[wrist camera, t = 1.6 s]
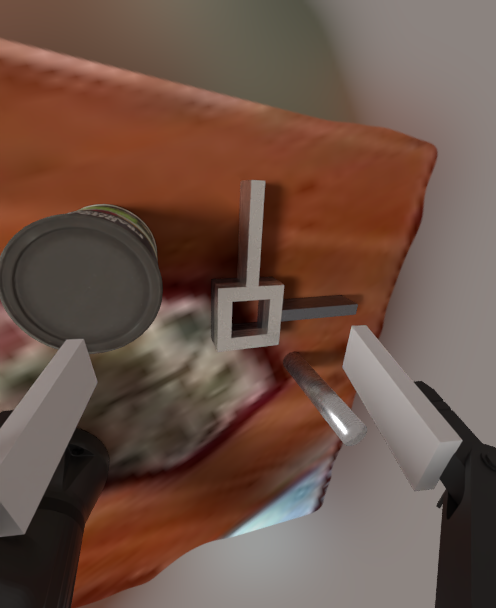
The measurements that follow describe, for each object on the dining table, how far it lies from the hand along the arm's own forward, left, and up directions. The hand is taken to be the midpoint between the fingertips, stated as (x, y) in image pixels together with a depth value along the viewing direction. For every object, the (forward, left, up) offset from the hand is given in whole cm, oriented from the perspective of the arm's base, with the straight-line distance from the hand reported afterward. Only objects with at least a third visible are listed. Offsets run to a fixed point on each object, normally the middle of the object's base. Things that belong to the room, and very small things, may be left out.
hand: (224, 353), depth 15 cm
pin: (-17, -17, -23) cm, 34 cm away
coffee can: (+1, +8, -24) cm, 25 cm away
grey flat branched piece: (-1, -14, -23) cm, 27 cm away
